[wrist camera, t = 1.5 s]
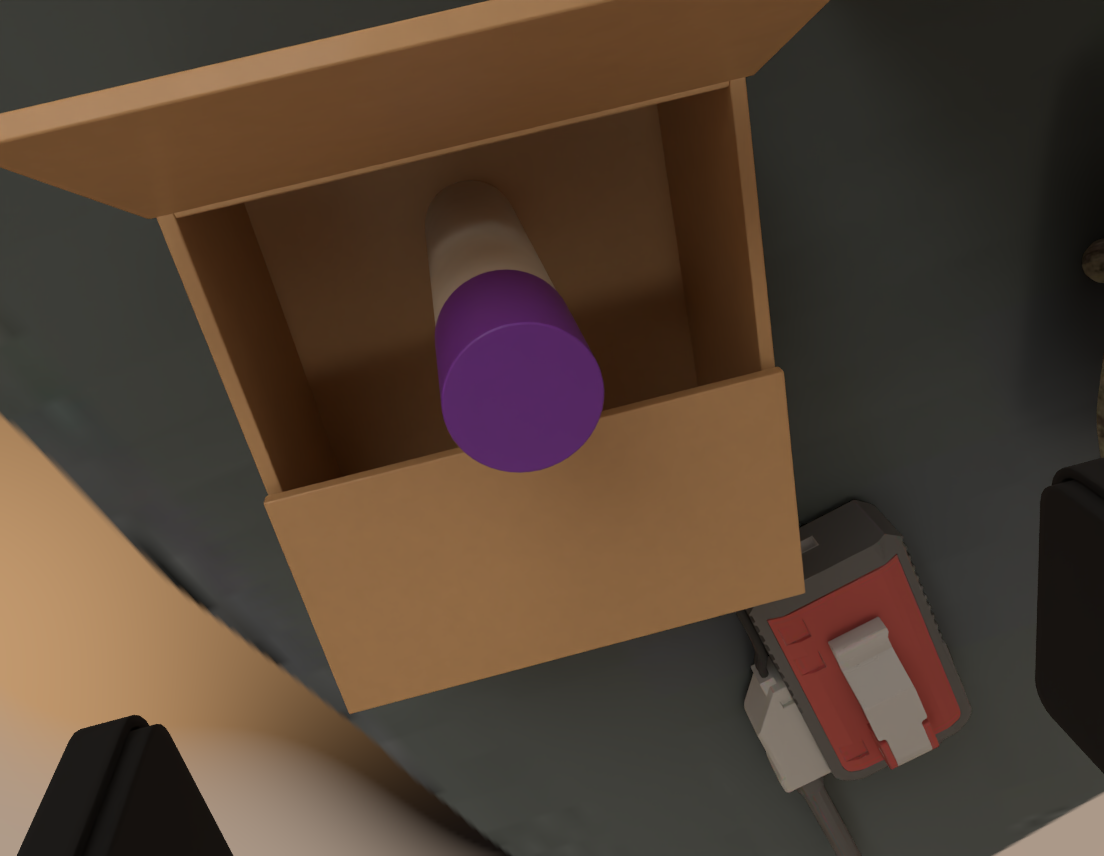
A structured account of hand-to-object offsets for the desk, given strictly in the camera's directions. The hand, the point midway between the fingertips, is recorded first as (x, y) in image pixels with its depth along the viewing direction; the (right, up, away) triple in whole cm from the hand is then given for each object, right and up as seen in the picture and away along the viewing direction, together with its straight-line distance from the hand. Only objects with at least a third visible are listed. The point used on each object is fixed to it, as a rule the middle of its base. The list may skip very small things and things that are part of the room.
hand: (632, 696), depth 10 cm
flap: (-3, +9, +7) cm, 11 cm away
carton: (-3, +6, +21) cm, 23 cm away
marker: (-3, +9, +20) cm, 22 cm away
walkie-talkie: (+12, -8, +31) cm, 34 cm away
